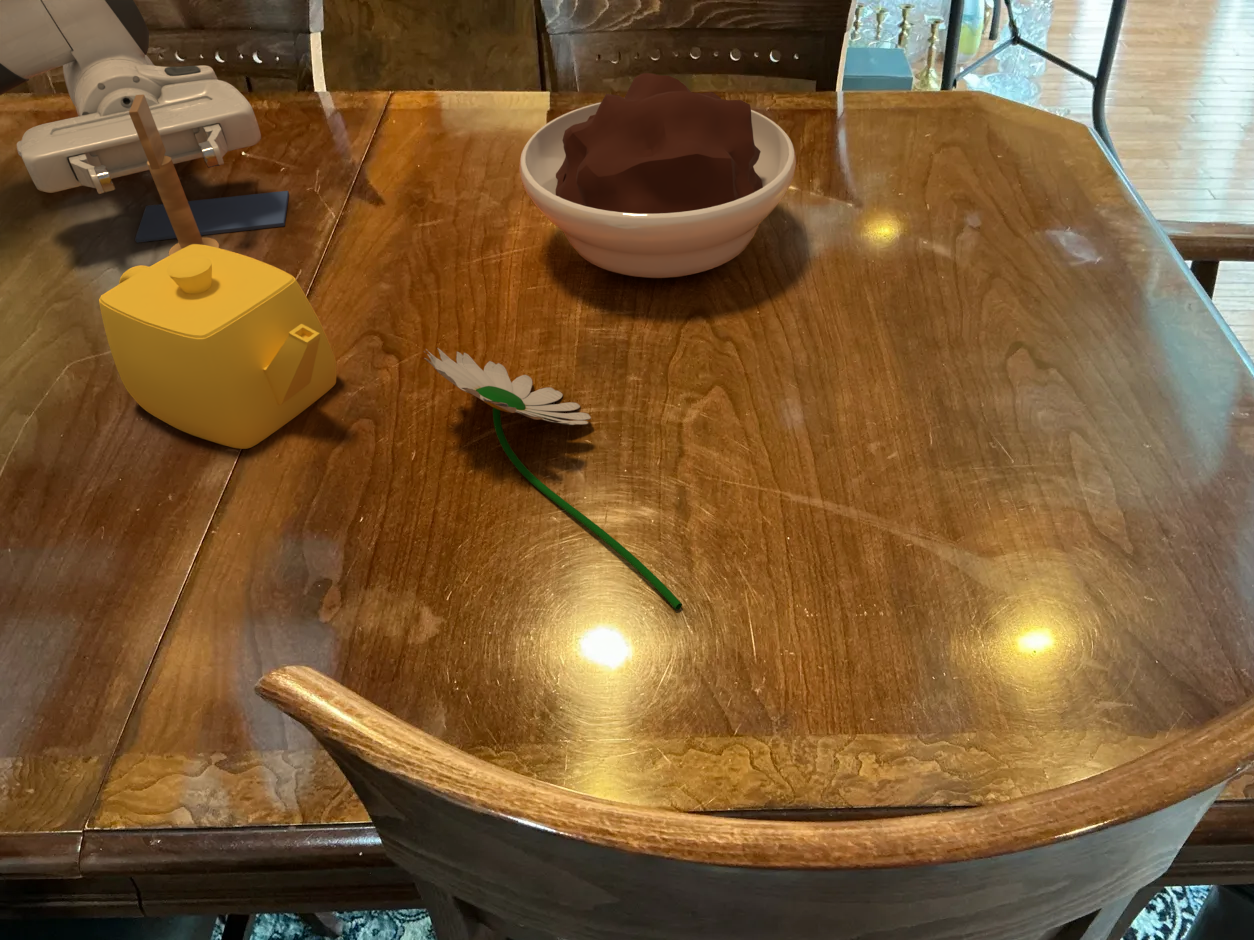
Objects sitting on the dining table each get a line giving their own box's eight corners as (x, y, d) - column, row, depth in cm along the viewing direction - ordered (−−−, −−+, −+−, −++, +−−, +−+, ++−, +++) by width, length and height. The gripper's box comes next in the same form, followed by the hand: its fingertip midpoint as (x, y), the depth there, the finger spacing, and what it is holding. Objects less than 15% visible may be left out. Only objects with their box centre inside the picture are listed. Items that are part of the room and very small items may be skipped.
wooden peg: (175, 288, 99) (103, 116, 88) (181, 263, 102) (113, 95, 91) (225, 282, 100) (160, 111, 88) (229, 258, 103) (167, 90, 91)
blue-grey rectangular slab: (136, 242, 105) (134, 239, 105) (147, 209, 110) (145, 205, 110) (284, 226, 107) (283, 222, 107) (289, 194, 112) (288, 190, 112)
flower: (630, 576, 64) (399, 311, 78) (591, 644, 66) (373, 373, 81) (764, 569, 74) (537, 335, 89) (726, 628, 76) (510, 390, 91)
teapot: (394, 391, 87) (358, 261, 79) (282, 480, 80) (230, 346, 71) (218, 326, 94) (169, 201, 86) (100, 402, 87) (33, 272, 78)
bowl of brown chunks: (542, 332, 93) (518, 165, 83) (523, 198, 111) (501, 46, 100) (821, 299, 97) (832, 135, 86) (760, 174, 114) (763, 25, 103)
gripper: (-2, 107, 99) (16, 165, 90) (225, 61, 106) (262, 110, 98) (30, 173, 103) (50, 234, 95) (246, 124, 110) (282, 176, 102)
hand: (159, 171), depth 96 cm, fingers open, 8 cm apart
